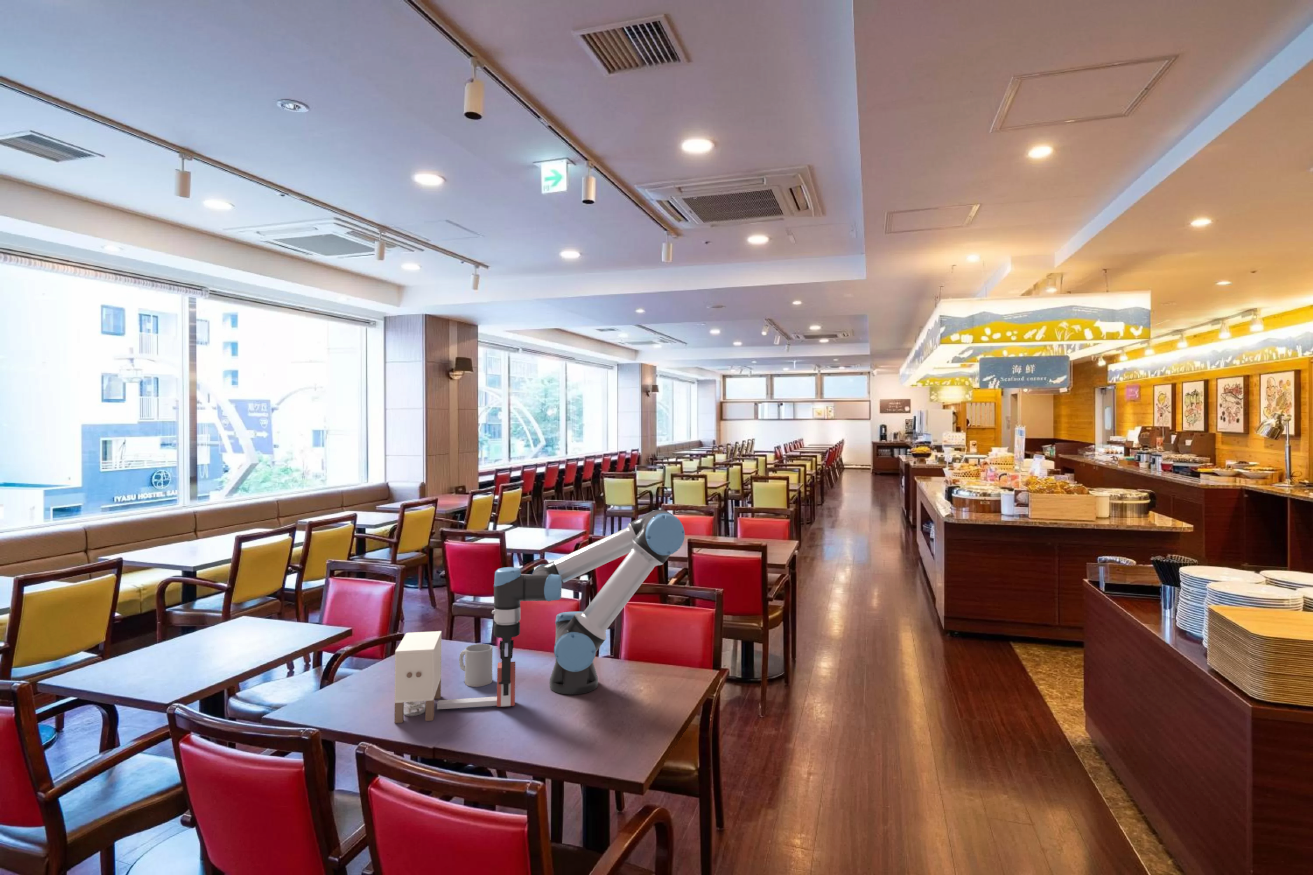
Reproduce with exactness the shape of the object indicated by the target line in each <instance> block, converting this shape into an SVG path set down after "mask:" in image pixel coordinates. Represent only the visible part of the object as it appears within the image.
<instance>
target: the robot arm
mask: <svg viewBox="0 0 1313 875" xmlns="http://www.w3.org/2000/svg"><path fill="white" fill-rule="evenodd" d="M685 537H686V532H685V528H684V525H683V523H682V521H681V520H680V519H679V518H678V516H675V515H674V514H672V513H671V512H669V511H668V510H665V509H655V510H652V511H649V512H648V513H646V514H644V515H642V516H640V517H639V518H637V519H635V520H632V521H630V522H629V523H628V524H627V527H625V528H623V529H621V530H618V531H616V532H614V533H613V534H610V535H608V536H606V537H602V538H601V539H599V540H596V541H594V542H592V543H590V544H588V545H585V546H584V547H582V548H579V549H577V550H575V551H572V552H570V553H568V554H566V555H563V556H562V557H559V558H557V559H555V560H554V561H553V560H552V561H551V562H548V563H547V564H544V563H543V564H540V565H537V566H536V567H535V569H534V570H533V571H532V573H531V574H522V572H521V568H518V567H515V566H514V567H513V566H507V567H501V568H497V569H496V570H495V571H494V582H493V583H494V584H493V610H492V611H491V614H492V615H493V621H494V623H493V636H494V637H496V638H498V639H500V638H501V640H499V650H500V656H499V657H500V659H501V662H502V681H501V682H499V684H501V706H500V707H511V680H510V670H511V662H512V658H513V652H514V651H513V650H514V639H512V638H516V637H518V636H520V634H521V623H520V621H521V602H539V601H540V602H552V601H559V600H561V599H562V587H563V586H562V585H563V584H564V583H566V582H568V581H571V580H573V579H575V578H577V577H579V576H581V575H584V574H587V573H588V572H590V571H592V570H595V569H597V568H599V567H602V566H603V565H605V564H607V563H609V562H612V561H615V560H617V559H618V558H620V557H623V556H625V558H624V559H623V560H622V562H621V563H620V564H619V565H618V567H617V568H616V569H615V571H614V572H613V573H612V575H611V576H610V577H609V578H608V580H606V582H605V584H604V585H603V586H602V587H601V589H600V590H599V591H598V592H597V593H596V595H595V596H594V598H593V599H592V600H591V602H590V603H589V604H588V605H587V607H586V608H585V609H584V610H583V611H565V612H560V613H558V614H556V616H555V622H554V624H555V639H554V640H555V641H554V648H553V654H554V657H555V661H554V662H555V663H554V665H553V668H552V672H551V674H550V678H549V688H550V690H551V691H552V692H554V693H558V694H562V695H581V694H586V693H590V692H593V691H594V690H596V689H597V688H598V686H599V677H598V673H597V670H596V667H595V664H594V660H595V658H596V656H597V651H598V650H599V649H600V648H601V646H602V645H603V643H604V642H605V641H606V640H607V630H608V629H609V627H611V624H613V622H614V621H615V619H616V618H617V617H618V615H619V614H620V613H621V612H622V610H623V609H624V608H625V606H626V605H627V604H628V603H629V601H630V600H631V598H632V597H633V596H634V594H635V593H636V592H637V591H638V589H639V588H640V587H641V585H642V584H643V583H644V581H645V580H646V579H647V578H648V576H649V575H650V573H651V572H652V571H653V570H654V568H655V567H657V566H662V565H664V563H665V562H666V561H667V560H668V559H669V557H670V556H671V555H673V554H675V553H676V552H677V551H679V550H680V549H681V547H682V546H683V544H684V542H685Z"/></svg>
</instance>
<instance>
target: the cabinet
mask: <svg viewBox="0 0 1313 875" xmlns="http://www.w3.org/2000/svg"><path fill="white" fill-rule="evenodd" d="M394 656H395V657H394V724H401V723H402V724H403V722H404V719H405V718H404V716H405V715H404V704H405V703H406V702H416V701H424V702H425V712H424V716H425V722H428V721H430V722H431V721H432V722H433V721H434V718H435V700H441V698H442V630H438V631H437V630H436V631H417V632H416V631H414V632H406V633H405V634H404V636H403V638H402V640H401V641H400V642H399V644H398V646H397V648H396V649H395V652H394Z"/></svg>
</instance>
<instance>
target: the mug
mask: <svg viewBox="0 0 1313 875" xmlns="http://www.w3.org/2000/svg"><path fill="white" fill-rule="evenodd" d="M458 663H459V668H460V670H461V671H463V672H464V684H465V685H466V686H468V687H471V688H472V687H474V688H477V687H479V688H480V687H485V686H488V685H490V684H491V683H492V682H493V645H491V644H489V643H488V644H486V643H476V644H471V645H468V646H466V647H465V649H463V650H461V652H460V653H459V658H458Z"/></svg>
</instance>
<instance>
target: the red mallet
mask: <svg viewBox="0 0 1313 875" xmlns="http://www.w3.org/2000/svg"><path fill="white" fill-rule="evenodd" d="M496 669H497V671H496V673H497V674H496V678H497V679H496V680H497V681H496V682H497V683H496V696H487V697H485V696H483V697H468V698H456V699H453V698H452V699H437V700H438V701H437V704H436V710H446V709H447V710H448V709H449V710H450V709H458V708H459V709H463V708H476V707H478V708H479V707H492V706H493V707H495V706H496V707H502V706H501V684H499V682H501V681H502V661H501V662H500V661H499V662H498V663H497V667H496ZM510 680H511V706H512V707H515V705H516V704H515V702H516V661H511V670H510ZM511 706H510V707H511Z"/></svg>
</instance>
